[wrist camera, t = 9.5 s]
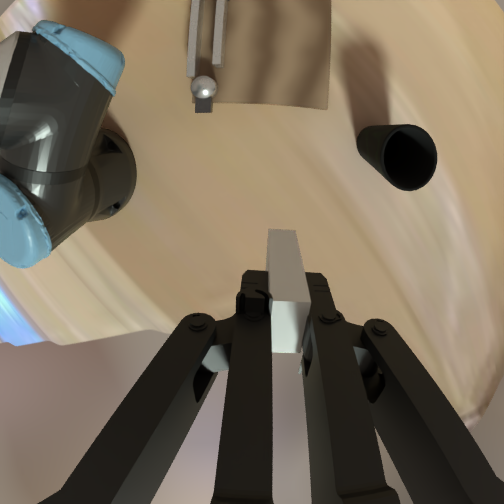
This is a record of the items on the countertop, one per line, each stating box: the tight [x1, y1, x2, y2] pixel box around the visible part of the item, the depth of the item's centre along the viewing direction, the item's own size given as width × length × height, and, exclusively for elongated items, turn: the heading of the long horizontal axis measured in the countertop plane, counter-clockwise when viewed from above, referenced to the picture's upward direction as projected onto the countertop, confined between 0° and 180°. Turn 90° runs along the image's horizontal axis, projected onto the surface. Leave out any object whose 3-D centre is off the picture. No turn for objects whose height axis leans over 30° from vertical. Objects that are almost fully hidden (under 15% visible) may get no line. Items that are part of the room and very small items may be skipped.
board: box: [192, 0, 331, 110], centre depth 31 cm, size 18×18×2 cm
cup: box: [357, 124, 437, 191], centre depth 32 cm, size 8×8×12 cm
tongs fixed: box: [187, 0, 218, 113], centre depth 29 cm, size 4×20×3 cm, turn 178°
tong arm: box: [212, 0, 230, 68], centre depth 27 cm, size 1×13×3 cm, turn 178°
